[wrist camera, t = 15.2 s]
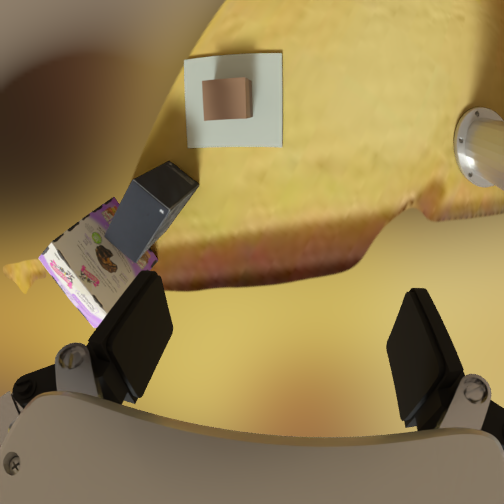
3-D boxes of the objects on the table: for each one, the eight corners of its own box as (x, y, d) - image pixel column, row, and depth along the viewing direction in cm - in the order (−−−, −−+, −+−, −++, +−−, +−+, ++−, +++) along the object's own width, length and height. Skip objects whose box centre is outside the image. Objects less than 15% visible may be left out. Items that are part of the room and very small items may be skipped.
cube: (251, 80, 31) (244, 77, 27) (252, 117, 34) (246, 118, 29) (213, 83, 32) (202, 80, 28) (215, 118, 34) (203, 120, 30)
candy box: (96, 211, 45) (35, 257, 31) (115, 195, 43) (50, 240, 29) (138, 271, 50) (93, 330, 36) (160, 260, 48) (113, 322, 34)
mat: (281, 53, 29) (281, 53, 29) (282, 146, 36) (282, 147, 35) (185, 60, 31) (184, 59, 31) (189, 147, 37) (187, 148, 37)
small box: (167, 157, 39) (131, 176, 30) (201, 184, 40) (173, 210, 31) (136, 208, 44) (100, 236, 35) (166, 232, 45) (136, 266, 36)
